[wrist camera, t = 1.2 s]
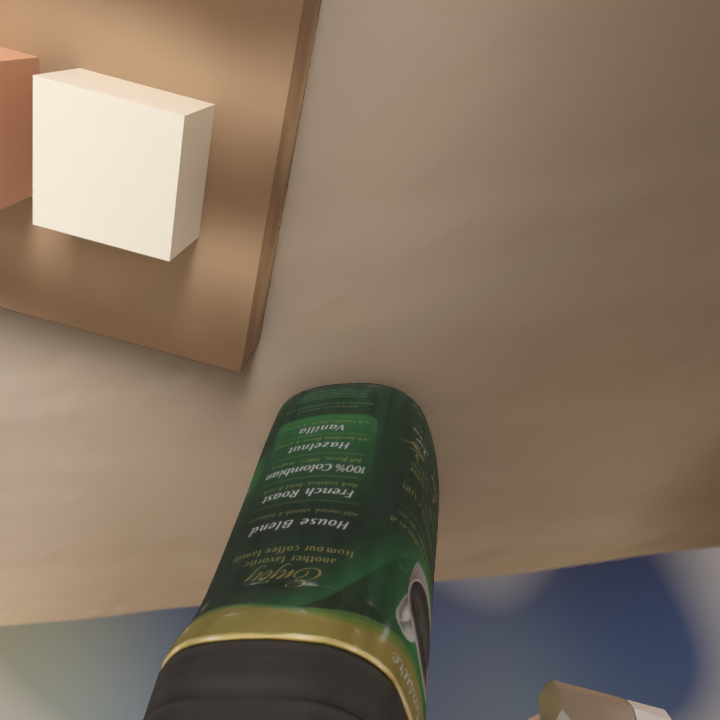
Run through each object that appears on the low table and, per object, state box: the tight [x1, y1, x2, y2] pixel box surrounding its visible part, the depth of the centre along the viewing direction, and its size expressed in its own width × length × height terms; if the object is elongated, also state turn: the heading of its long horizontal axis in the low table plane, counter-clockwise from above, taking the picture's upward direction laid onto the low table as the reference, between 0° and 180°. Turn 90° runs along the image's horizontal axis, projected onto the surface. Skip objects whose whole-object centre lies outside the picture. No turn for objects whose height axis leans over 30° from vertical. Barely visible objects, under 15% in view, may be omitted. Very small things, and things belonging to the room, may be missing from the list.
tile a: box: [33, 68, 215, 262], centre depth 24 cm, size 5×5×3 cm
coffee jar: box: [143, 383, 439, 720], centre depth 26 cm, size 10×8×19 cm
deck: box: [0, 0, 321, 373], centre depth 27 cm, size 16×16×3 cm
